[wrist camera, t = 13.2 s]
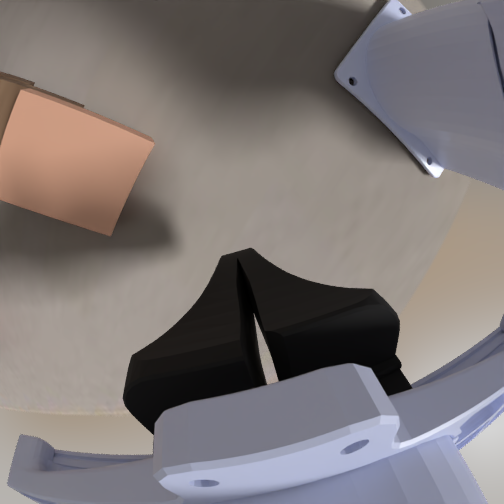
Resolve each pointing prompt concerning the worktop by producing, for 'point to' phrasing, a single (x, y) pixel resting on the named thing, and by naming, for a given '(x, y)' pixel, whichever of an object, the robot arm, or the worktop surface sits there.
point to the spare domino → (69, 161)
